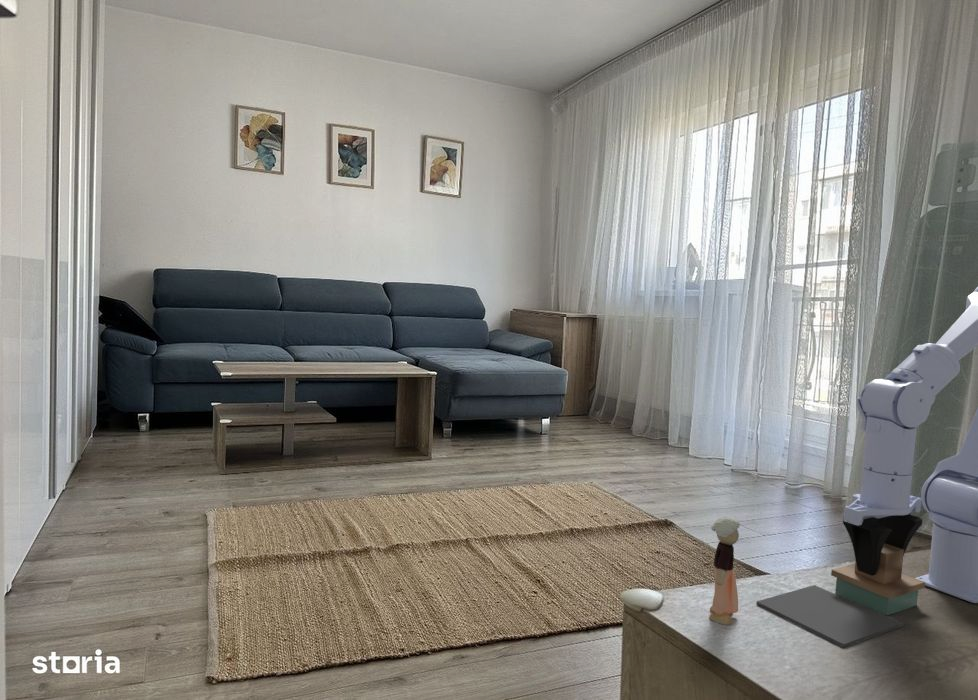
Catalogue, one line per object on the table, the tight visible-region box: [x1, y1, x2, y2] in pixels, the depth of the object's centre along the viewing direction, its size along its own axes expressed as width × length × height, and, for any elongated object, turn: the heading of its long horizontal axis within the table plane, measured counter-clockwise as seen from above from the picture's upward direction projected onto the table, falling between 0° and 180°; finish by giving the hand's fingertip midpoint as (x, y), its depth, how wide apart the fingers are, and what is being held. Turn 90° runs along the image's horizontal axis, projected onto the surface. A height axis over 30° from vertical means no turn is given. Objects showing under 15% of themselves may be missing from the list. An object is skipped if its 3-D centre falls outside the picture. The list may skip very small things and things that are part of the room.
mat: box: [755, 584, 903, 648], centre depth 86 cm, size 12×12×1 cm
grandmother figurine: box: [708, 515, 741, 626], centre depth 84 cm, size 8×4×13 cm, turn 168°
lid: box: [830, 543, 926, 599], centre depth 91 cm, size 8×8×5 cm
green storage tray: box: [834, 577, 919, 616], centre depth 91 cm, size 7×7×2 cm
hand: (878, 569), depth 91 cm, fingers open, 5 cm apart
